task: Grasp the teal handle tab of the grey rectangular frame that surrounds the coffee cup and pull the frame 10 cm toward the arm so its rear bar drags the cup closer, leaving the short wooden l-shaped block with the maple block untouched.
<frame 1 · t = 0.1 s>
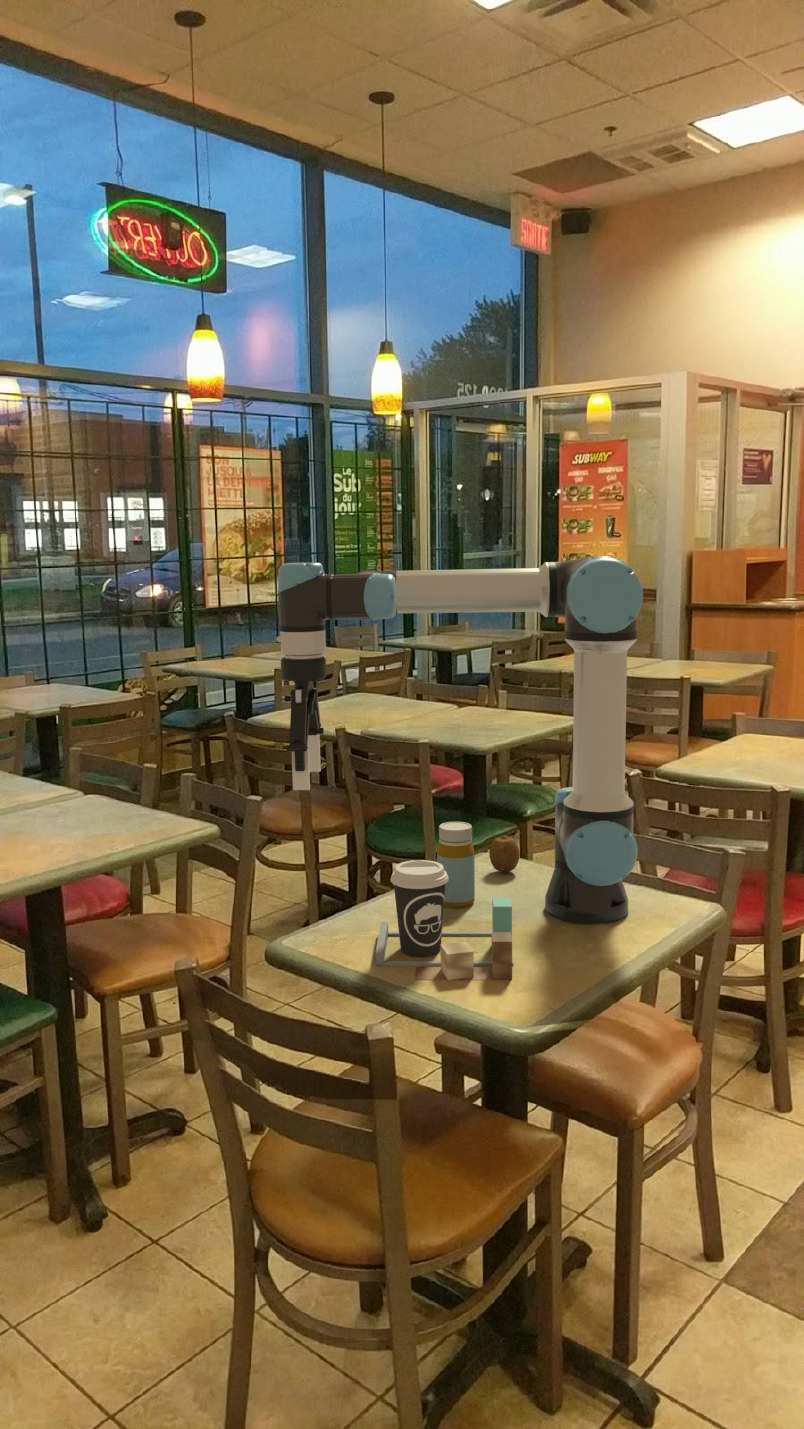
hand: (307, 780, 179), 28 cm above the table, fingers open, 13 cm apart
coffee cup: (420, 954, 175), resting in grey rectangular frame
wooden l-shaped block: (463, 957, 165), point 3 cm above the table, slide at 0.0 cm, touching maple block
bottle: (456, 903, 200), on the table
fruit: (504, 873, 217), on the table
maple block: (457, 973, 165), point 1 cm above the table, touching wooden l-shaped block
grey rectangular frame: (444, 928, 174), point 5 cm above the table, slide at 0.0 cm
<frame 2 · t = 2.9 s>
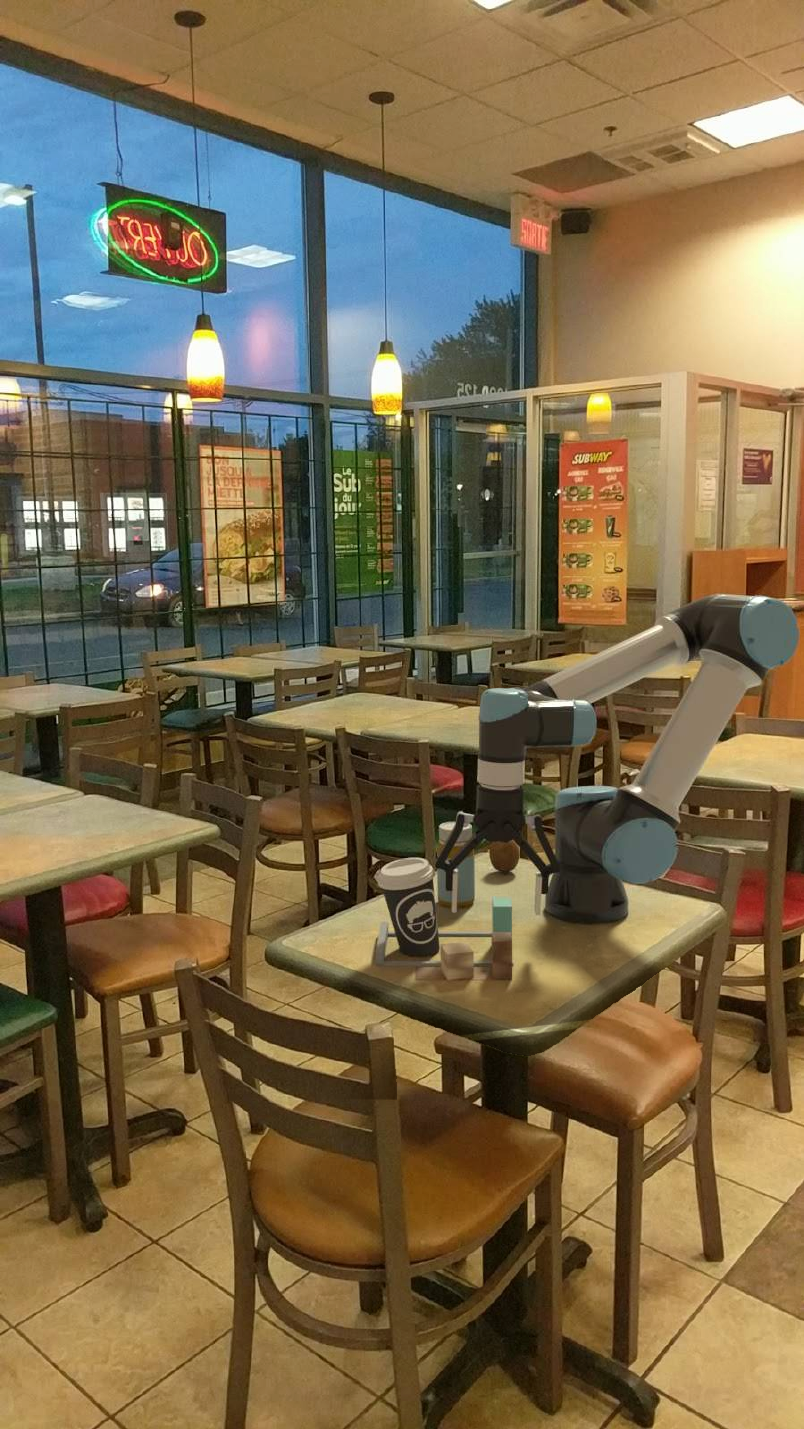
hand: (495, 911, 173), 8 cm above the table, fingers open, 13 cm apart
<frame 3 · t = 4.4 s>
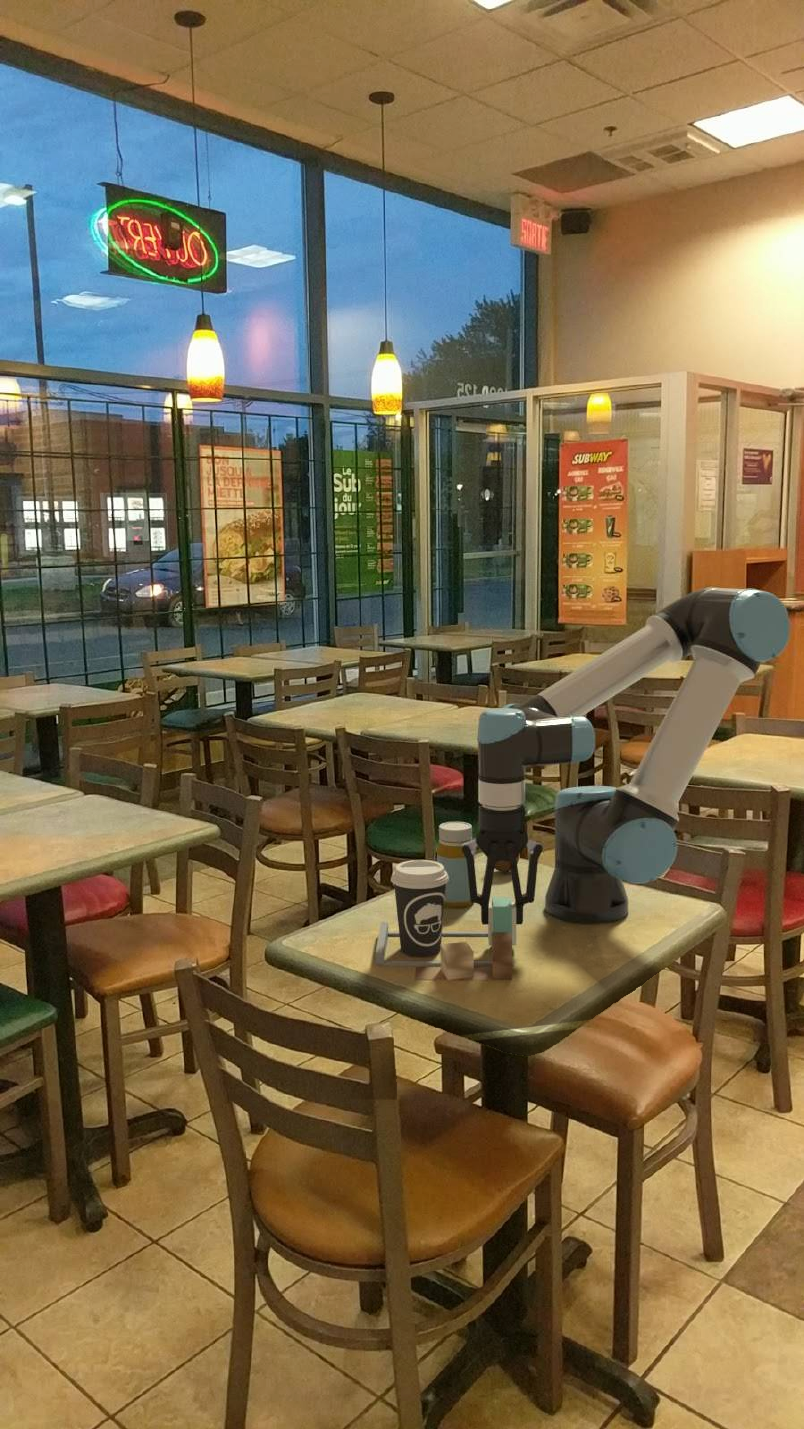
hand: (502, 942, 174), 2 cm above the table, fingers closed on grey rectangular frame, 3 cm apart
grey rectangular frame: (444, 928, 174), point 4 cm above the table, slide at 0.0 cm, touching gripper
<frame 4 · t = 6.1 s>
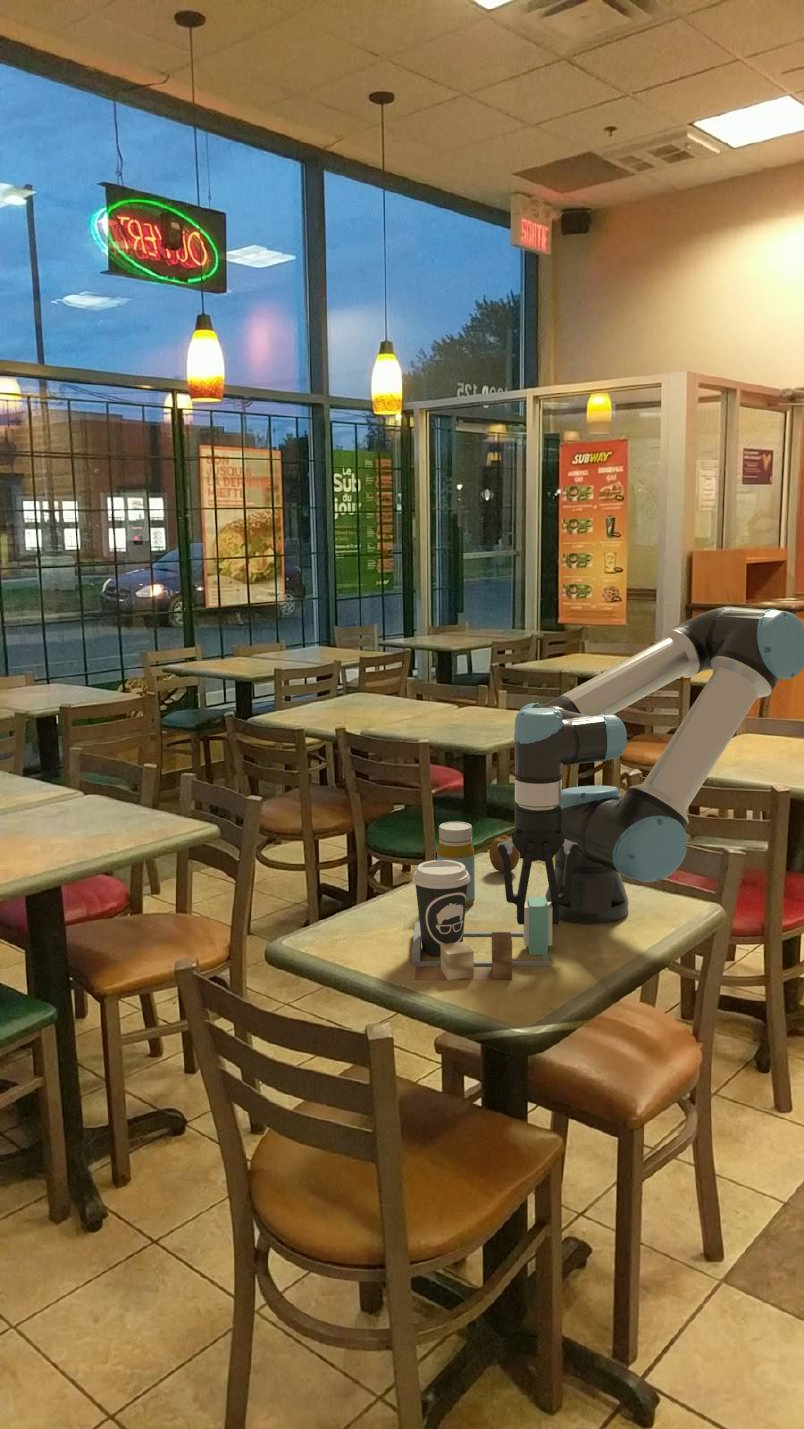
hand: (537, 942, 174), 2 cm above the table, fingers closed on grey rectangular frame, 3 cm apart
coffee cup: (442, 954, 175), resting in grey rectangular frame
grey rectangular frame: (479, 927, 174), point 5 cm above the table, slide at 5.9 cm, touching coffee cup, gripper
everything else where it was.
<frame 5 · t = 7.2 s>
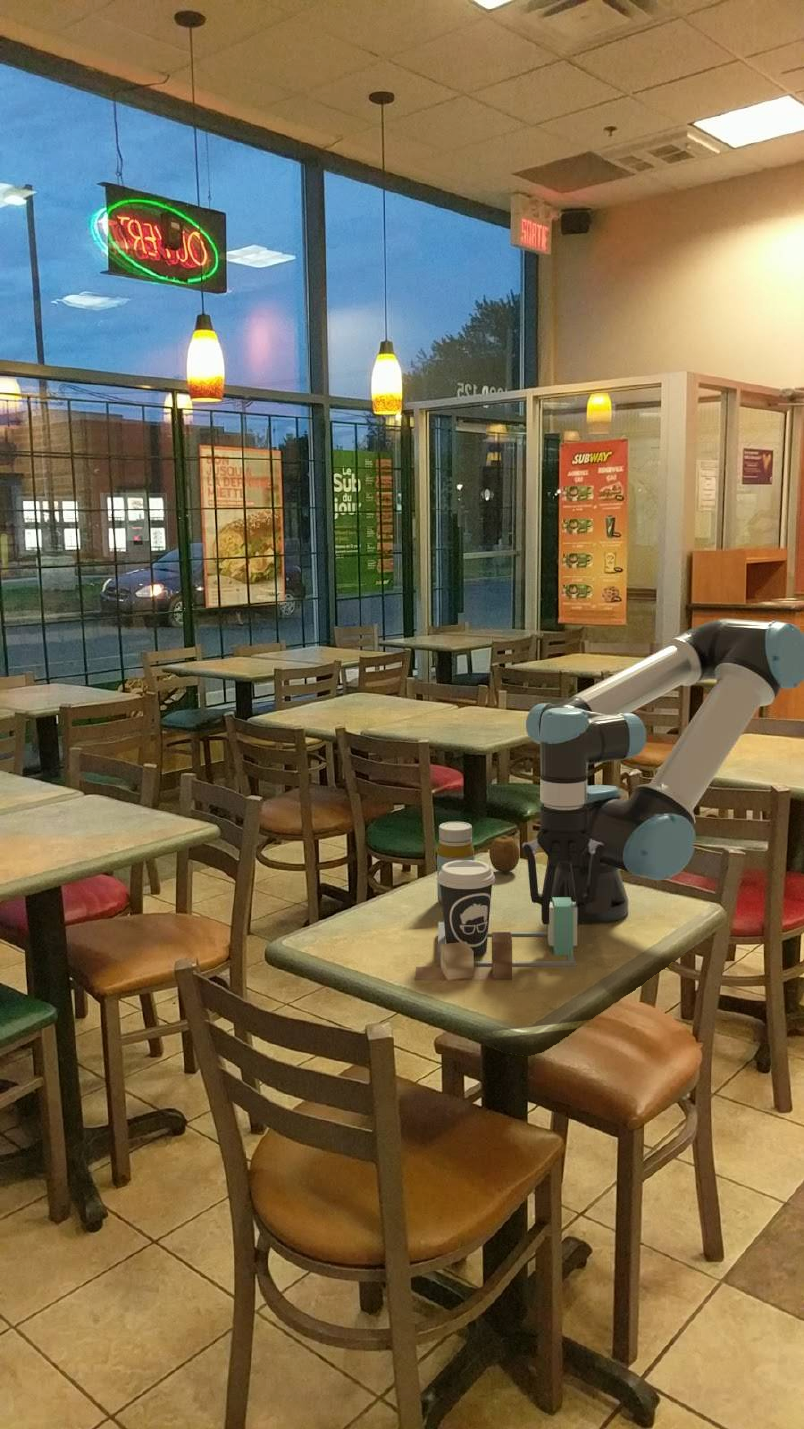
hand: (562, 942, 174), 2 cm above the table, fingers closed on grey rectangular frame, 3 cm apart
coffee cup: (466, 955, 175), resting in grey rectangular frame
grey rectangular frame: (504, 927, 174), point 4 cm above the table, slide at 9.9 cm, touching coffee cup, gripper
everything else where it was.
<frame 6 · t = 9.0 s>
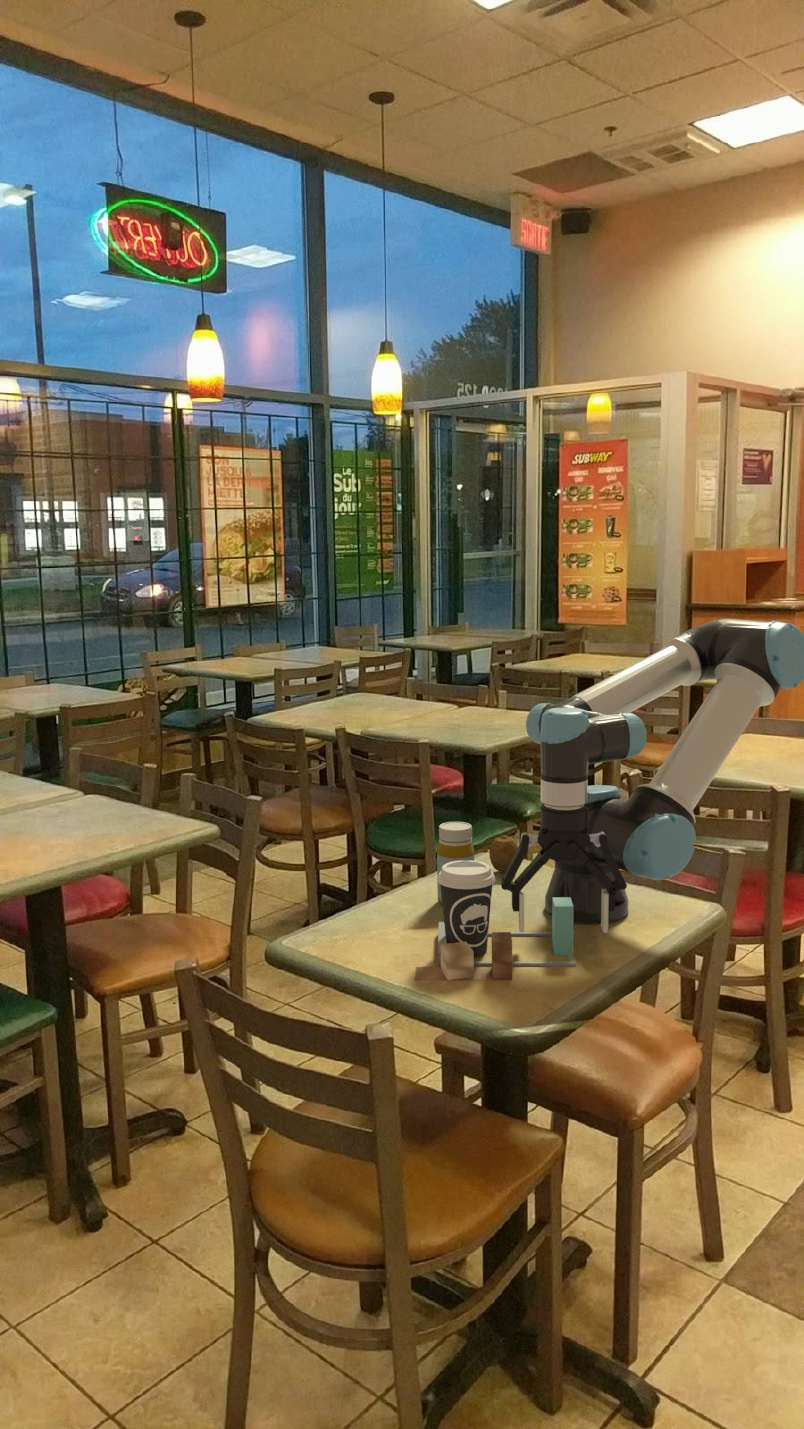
hand: (562, 929, 173), 4 cm above the table, fingers open, 13 cm apart
coffee cup: (466, 955, 175), resting in grey rectangular frame
grey rectangular frame: (504, 927, 174), point 5 cm above the table, slide at 9.9 cm
everything else where it was.
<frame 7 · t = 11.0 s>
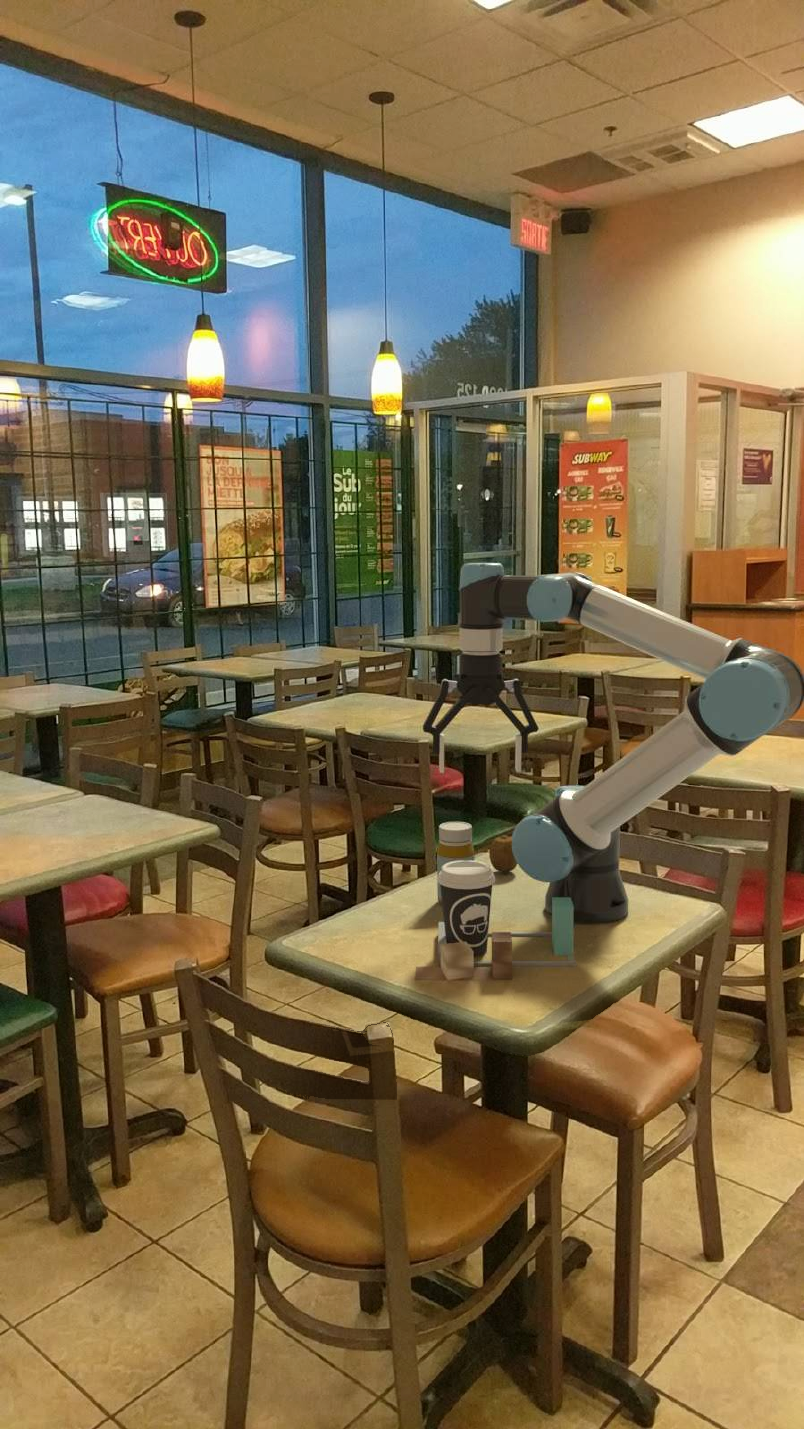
hand: (479, 771, 187), 27 cm above the table, fingers open, 13 cm apart
nothing on the table moved.
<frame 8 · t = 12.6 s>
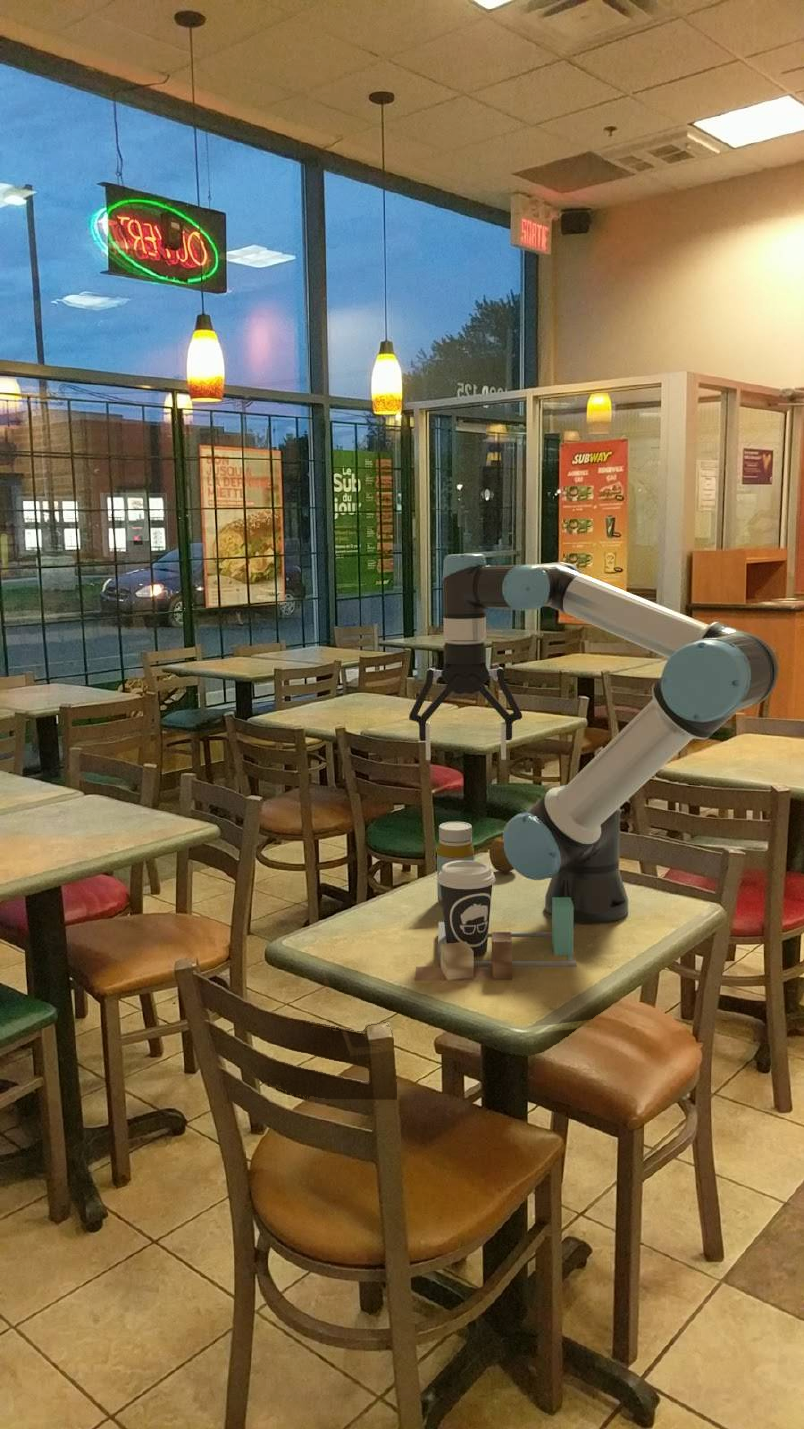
hand: (465, 758, 191), 29 cm above the table, fingers open, 13 cm apart
nothing on the table moved.
at the end: grey rectangular frame slide at 9.9 cm; coffee cup moved 7.7 cm from its start; coffee cup tilted 0° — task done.
